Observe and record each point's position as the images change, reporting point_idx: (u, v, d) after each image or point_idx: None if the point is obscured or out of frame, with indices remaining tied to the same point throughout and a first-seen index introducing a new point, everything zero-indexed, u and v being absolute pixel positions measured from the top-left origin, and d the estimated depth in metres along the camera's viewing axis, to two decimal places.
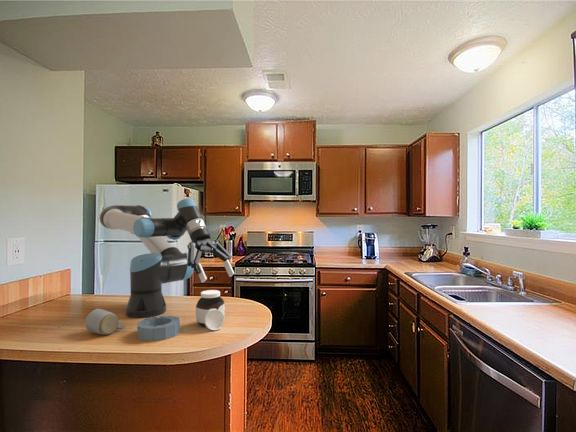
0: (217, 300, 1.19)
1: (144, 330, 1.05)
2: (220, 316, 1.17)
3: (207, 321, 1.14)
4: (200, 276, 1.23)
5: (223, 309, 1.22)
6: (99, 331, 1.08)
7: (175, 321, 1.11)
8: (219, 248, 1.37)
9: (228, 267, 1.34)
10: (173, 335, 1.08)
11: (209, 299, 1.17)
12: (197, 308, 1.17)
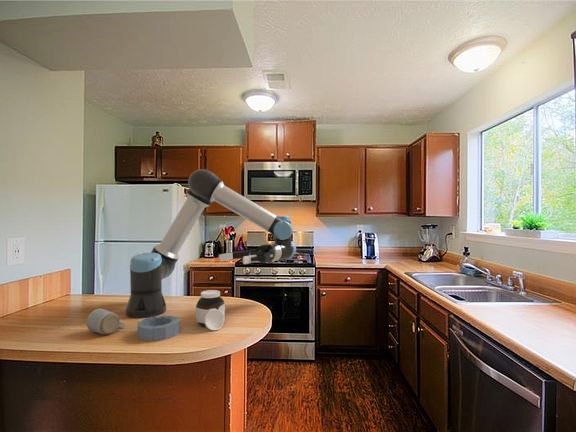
0: (217, 300, 1.19)
1: (144, 330, 1.05)
2: (220, 316, 1.17)
3: (207, 321, 1.14)
4: (248, 258, 1.23)
5: (223, 309, 1.22)
6: (100, 331, 1.08)
7: (175, 321, 1.11)
8: None
9: (226, 258, 1.33)
10: (173, 335, 1.08)
11: (209, 299, 1.17)
12: (197, 308, 1.17)
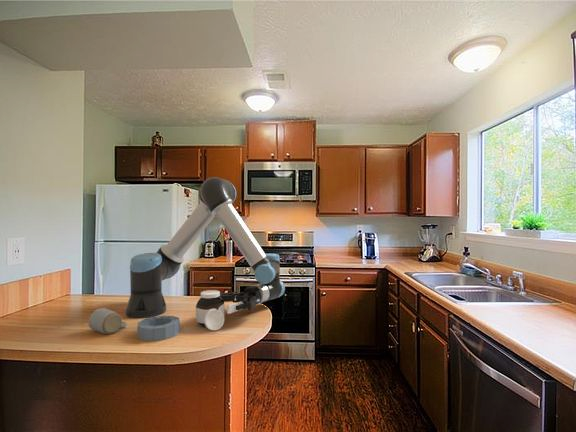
0: (217, 300, 1.19)
1: (144, 330, 1.05)
2: (220, 316, 1.17)
3: (207, 321, 1.14)
4: (233, 306, 1.17)
5: (223, 309, 1.22)
6: (102, 330, 1.09)
7: (175, 321, 1.11)
8: None
9: None
10: (173, 335, 1.08)
11: (209, 299, 1.17)
12: (197, 308, 1.17)
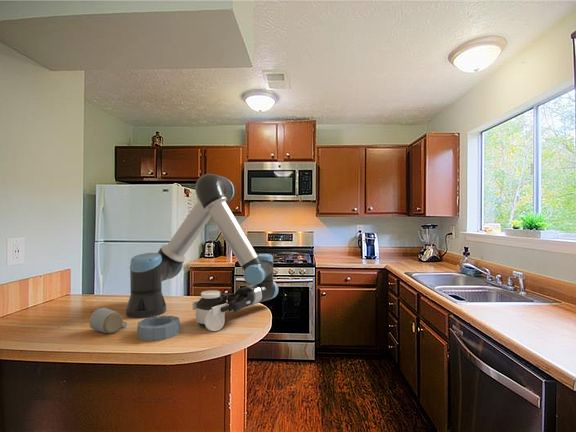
0: (217, 300, 1.18)
1: (144, 330, 1.05)
2: (220, 317, 1.16)
3: (207, 322, 1.13)
4: (218, 308, 1.14)
5: None
6: (103, 330, 1.09)
7: (175, 321, 1.11)
8: None
9: None
10: (173, 335, 1.08)
11: (209, 299, 1.16)
12: (197, 308, 1.16)
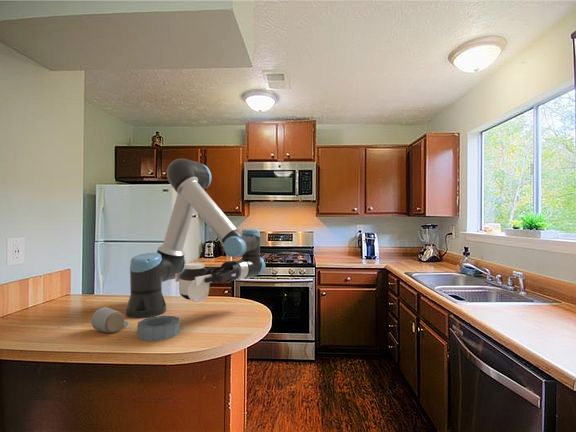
0: (201, 271, 1.14)
1: (144, 330, 1.05)
2: (204, 288, 1.12)
3: (190, 292, 1.09)
4: (201, 278, 1.10)
5: None
6: (105, 329, 1.10)
7: (175, 321, 1.11)
8: None
9: None
10: (173, 335, 1.08)
11: (193, 270, 1.12)
12: (180, 279, 1.12)
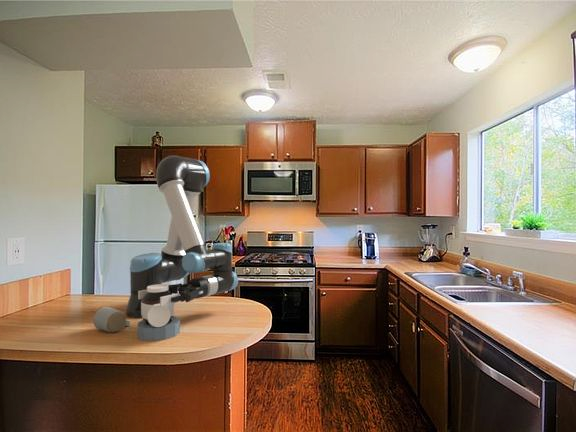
0: (164, 294, 1.10)
1: (144, 330, 1.05)
2: (166, 312, 1.09)
3: (151, 317, 1.06)
4: (167, 298, 1.06)
5: (172, 304, 1.13)
6: (107, 328, 1.10)
7: (175, 321, 1.11)
8: None
9: None
10: (173, 335, 1.08)
11: (155, 293, 1.09)
12: (142, 303, 1.09)
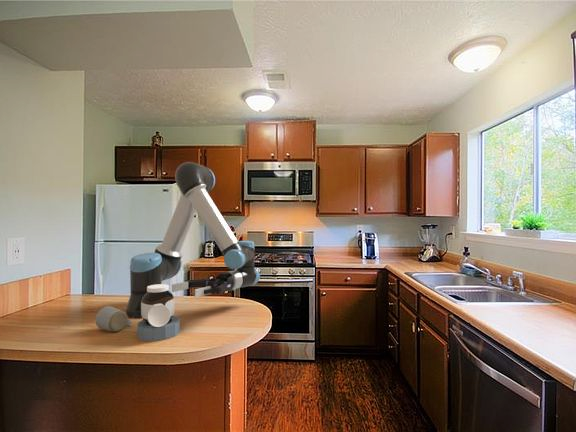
0: (164, 294, 1.10)
1: (144, 330, 1.05)
2: (166, 312, 1.09)
3: (151, 317, 1.06)
4: (201, 290, 1.16)
5: (172, 304, 1.13)
6: (109, 328, 1.11)
7: (175, 321, 1.11)
8: None
9: (181, 287, 1.25)
10: (173, 335, 1.08)
11: (155, 293, 1.09)
12: (142, 303, 1.09)
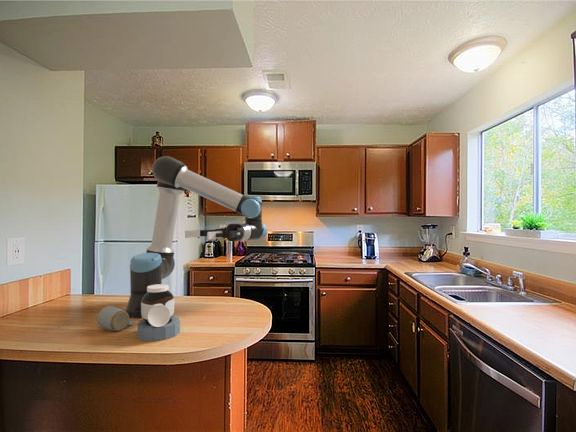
0: (164, 294, 1.10)
1: (144, 330, 1.05)
2: (166, 312, 1.09)
3: (151, 317, 1.06)
4: (213, 233, 1.23)
5: (172, 304, 1.13)
6: (110, 327, 1.11)
7: (175, 321, 1.11)
8: None
9: (193, 234, 1.32)
10: (173, 335, 1.08)
11: (155, 293, 1.09)
12: (142, 303, 1.09)
